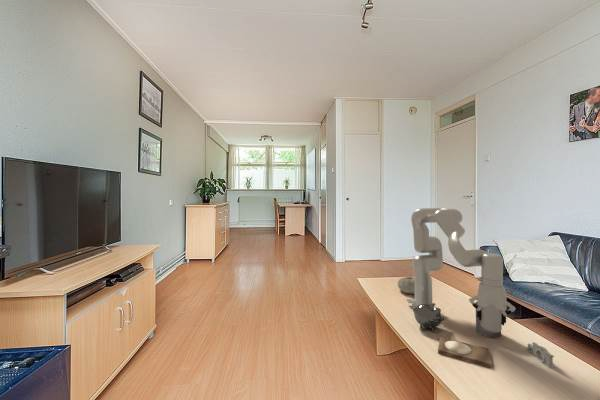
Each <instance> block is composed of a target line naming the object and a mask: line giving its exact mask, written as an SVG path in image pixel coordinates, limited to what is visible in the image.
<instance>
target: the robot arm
mask: <svg viewBox="0 0 600 400" xmlns="http://www.w3.org/2000/svg"><path fill="white" fill-rule="evenodd" d="M410 221H411V226H412V231H413V234H412V235H413V246H414V251H416V252H417V253H418V254H420V255H417V256H415V257H413V259H412V261H411V264H412V268H413V276H414V287H415V294H414V298H409V297H408V298H406V302H408V304H411V307H412V309H413V308H415V307H416V306H417V305H419V304H431V303H433V278H432V276H431V274H430V273H429V272H434V271H435V272H436V271H440V270H441V269H442V268H443V267H444V266H443V265H444V264H443V263H444V258H443V245H442V244H443V243H442V242H441V240H440V239H439V237H437V236H433V235H431V236H430V230H429V227H428V226H427V224H430V223H431V224H432V223H433V224H434V223H436V224H437V225H438V226H439V228H440V229H441V231H442V232H443V233H444V235H445V236H446V237H447V239H448V241H447V245H448V250H449V252H450V253H451V255H452V256H453V259H455V261H456V262H457V263H458V264H459V265H461V266H462V267H465V268H472V267H481V271H480V272H481V273H480V274H481V275H480V277H479V276H478V277H477V281H478V282H479V283H478V289H477V295H475V296H473V297H470V298H469V299H468V301H469V303H470V304H471V305H472V307H474V309H475V311H476V310H477V317H479V320H481V308H482V307H483V308H484V307H487V306H489V305H494V306H495V307H496V308H497V309H499V310H500V311H502V326H505V324H507V317H508V316H509V315H511V314H512V313H513V312H515V311H516V307H515V306H514V305H512V303H510V302H508V301H507V292H506V287H505V286H504V285H503V282H504V281H503V280H504V277H503V276H504V275H503V274H504V258H503V256H502V255H500V254H498V253H493V252H489V251H486V250H484V249H468V250H467V249H465V247H464V246H463V244H462V243H461V242H460V239H461V238H462V237H463V236H464V235H465V232H466V230H465V228H464V227H463V226H462V225H461V224H460V223H462V221H463V214H462V212H461V211H460V210H458V209H455V208H443V207H441V208H440V207H429V208H428V207H425V208H418V209H416V210H414V211H413V212H412V214H411V220H410ZM475 301H476V302H478V305H476V304H475V303H476V302H475ZM508 307H509V308H508ZM507 308H508V309H507Z"/></svg>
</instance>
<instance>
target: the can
mask: <svg viewBox="0 0 600 400" xmlns="http://www.w3.org/2000/svg"><path fill="white" fill-rule="evenodd" d="M481 326H482V327H483V328H484V329H485V330H487V331H490V332H494V333H497V332H500V331H501V332H502V330H503V329H502V328H503V325H502V311H500V310H499V309H497V308H496V307H495V306H494V305H489V306H487V307H484V308H483V307H482V308H481Z"/></svg>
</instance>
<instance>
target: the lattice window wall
mask: <svg viewBox="0 0 600 400" xmlns="http://www.w3.org/2000/svg"><path fill="white" fill-rule="evenodd" d="M531 343H532V344H531ZM531 343H527V351H528V352H529V353H530V354H531V355H533V356H534V357H535V358H536V359H537V360H538V361H539V362H540V363H543V364H544V365H545V366H546V367H548V369H553V368H554V367H553V366H554V363H553V362H554V361H553V358H555V355H553V354H551V353H550V352H549V351H548V349H547V348H546V347H544V346H542V345H539V344H538V342H535V341H533V342H531Z"/></svg>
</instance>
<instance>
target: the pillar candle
mask: <svg viewBox="0 0 600 400" xmlns="http://www.w3.org/2000/svg"><path fill="white" fill-rule="evenodd" d="M474 303H475V304H476V305H478V302H477V301H476V302H474ZM475 326H476V327H475V330H476V332H477V333H478V334H480V335H482V336H485V337H487V338H492V339H499V338H500V337H502V330H501V331H500V332H497V333H494V332H490V331H487V330H485V329H484V328H483V327H482V326H481V320H479V317H477V310H476V309H475Z"/></svg>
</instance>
